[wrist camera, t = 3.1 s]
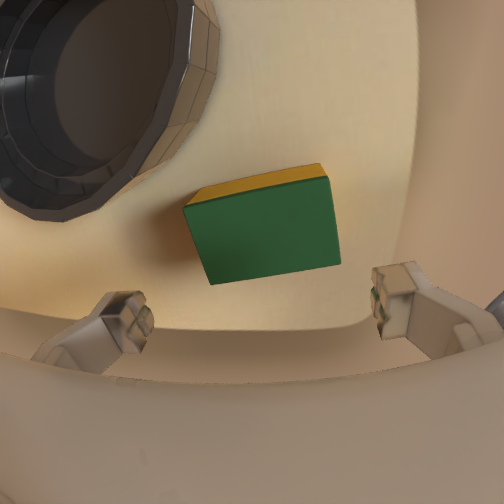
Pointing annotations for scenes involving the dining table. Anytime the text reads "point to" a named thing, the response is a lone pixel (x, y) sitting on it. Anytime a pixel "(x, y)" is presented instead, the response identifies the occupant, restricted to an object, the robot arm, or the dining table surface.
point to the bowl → (97, 96)
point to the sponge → (265, 225)
